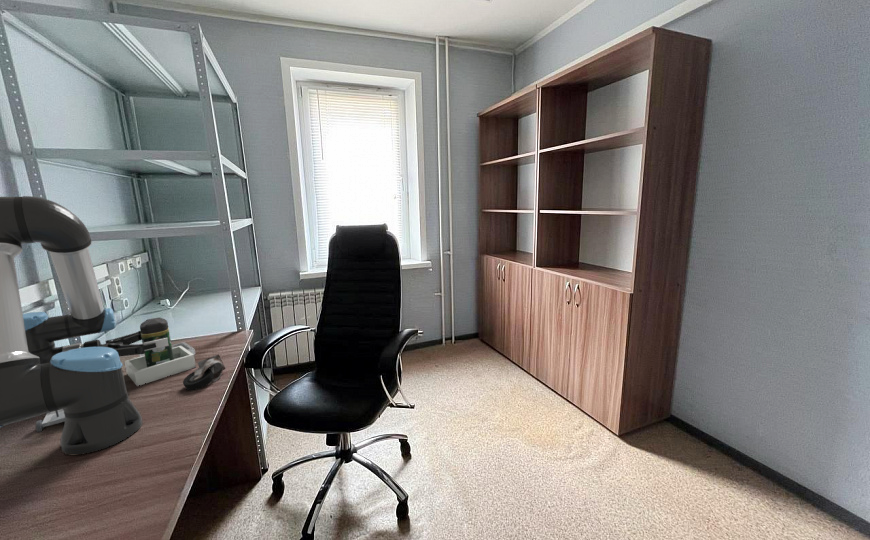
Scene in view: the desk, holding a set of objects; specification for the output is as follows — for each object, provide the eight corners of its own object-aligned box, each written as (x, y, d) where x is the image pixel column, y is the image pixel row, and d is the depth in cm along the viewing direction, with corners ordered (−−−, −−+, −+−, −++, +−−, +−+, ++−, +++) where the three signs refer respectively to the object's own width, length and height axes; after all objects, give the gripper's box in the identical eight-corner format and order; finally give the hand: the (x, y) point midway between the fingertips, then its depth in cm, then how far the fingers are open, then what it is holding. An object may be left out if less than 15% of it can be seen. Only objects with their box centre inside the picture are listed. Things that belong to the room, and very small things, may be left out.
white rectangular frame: (195, 354, 139) (194, 348, 138) (148, 368, 127) (147, 362, 127) (185, 347, 147) (184, 341, 147) (140, 359, 136) (139, 353, 135)
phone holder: (89, 388, 94) (25, 404, 87) (96, 421, 96) (34, 439, 89) (96, 367, 108) (42, 379, 101) (103, 395, 110) (50, 409, 103)
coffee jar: (147, 367, 126) (138, 319, 123) (174, 361, 131) (166, 314, 128) (147, 376, 119) (138, 325, 116) (175, 369, 124) (167, 320, 121)
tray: (196, 367, 127) (193, 354, 126) (137, 386, 114) (134, 372, 113) (183, 357, 136) (180, 345, 136) (127, 374, 123) (124, 361, 123)
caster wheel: (188, 399, 110) (189, 382, 118) (227, 383, 115) (225, 368, 123) (179, 383, 107) (181, 367, 115) (219, 367, 112) (218, 353, 120)
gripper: (90, 353, 121) (166, 337, 135) (82, 377, 103) (171, 356, 116) (86, 333, 120) (162, 319, 134) (77, 354, 101) (167, 335, 115)
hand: (166, 336), depth 125 cm, fingers open, 13 cm apart
